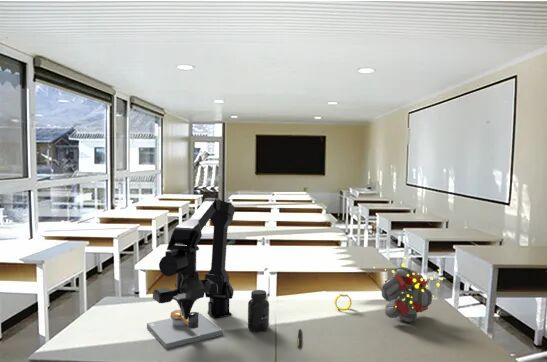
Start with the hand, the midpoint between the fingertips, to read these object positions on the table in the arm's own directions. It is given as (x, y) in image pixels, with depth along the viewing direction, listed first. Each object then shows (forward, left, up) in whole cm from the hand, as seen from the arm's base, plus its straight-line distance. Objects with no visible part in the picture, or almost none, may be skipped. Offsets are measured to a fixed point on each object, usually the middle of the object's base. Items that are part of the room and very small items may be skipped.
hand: (185, 319), depth 127 cm
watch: (-58, +6, -7) cm, 59 cm away
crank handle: (-2, -6, -3) cm, 7 cm away
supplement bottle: (-23, +4, -7) cm, 24 cm away
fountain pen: (-29, +18, -7) cm, 35 cm away
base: (-2, -7, -7) cm, 10 cm away
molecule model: (-68, +26, -7) cm, 73 cm away
